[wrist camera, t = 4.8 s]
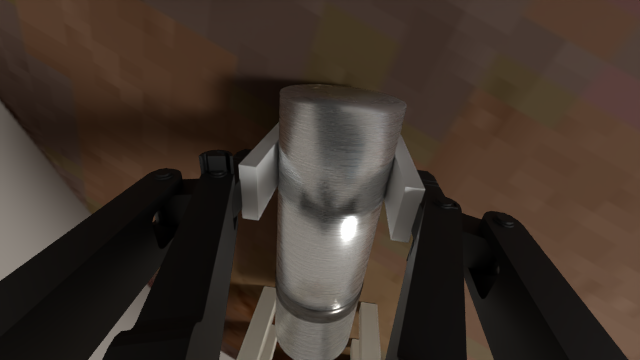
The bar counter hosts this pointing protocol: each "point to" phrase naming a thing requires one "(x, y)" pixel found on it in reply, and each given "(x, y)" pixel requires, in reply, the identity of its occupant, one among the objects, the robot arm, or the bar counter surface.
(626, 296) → the bar counter surface
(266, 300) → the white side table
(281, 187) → the silver metal cylinder
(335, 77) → the bar counter surface
